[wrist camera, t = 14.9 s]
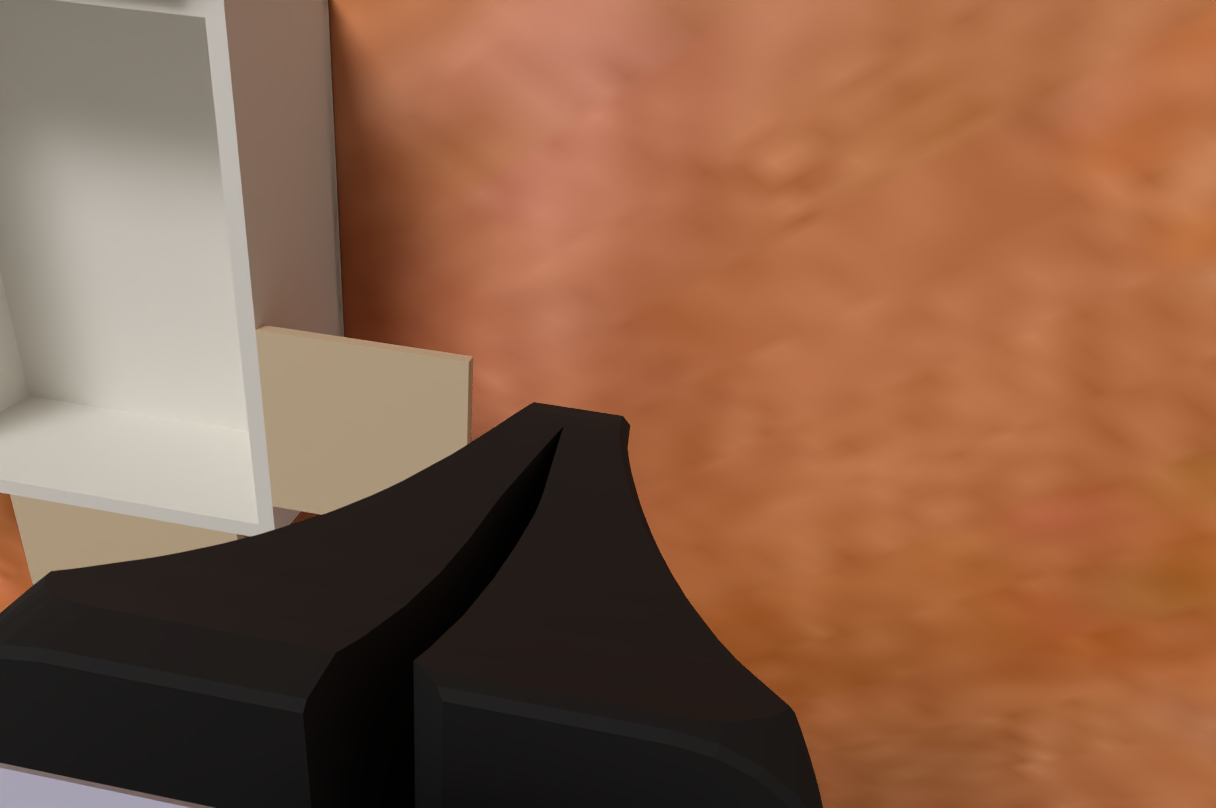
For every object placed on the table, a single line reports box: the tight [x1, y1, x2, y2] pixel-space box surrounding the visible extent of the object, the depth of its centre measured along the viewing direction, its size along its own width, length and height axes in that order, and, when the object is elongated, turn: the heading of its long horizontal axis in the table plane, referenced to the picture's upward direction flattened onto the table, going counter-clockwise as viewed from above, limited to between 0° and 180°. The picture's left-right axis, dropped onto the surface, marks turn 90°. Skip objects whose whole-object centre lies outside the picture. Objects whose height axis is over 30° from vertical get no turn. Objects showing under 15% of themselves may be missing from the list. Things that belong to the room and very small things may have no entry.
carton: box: [0, 0, 473, 585], centre depth 22 cm, size 16×15×4 cm
